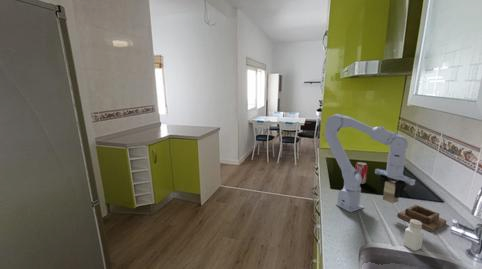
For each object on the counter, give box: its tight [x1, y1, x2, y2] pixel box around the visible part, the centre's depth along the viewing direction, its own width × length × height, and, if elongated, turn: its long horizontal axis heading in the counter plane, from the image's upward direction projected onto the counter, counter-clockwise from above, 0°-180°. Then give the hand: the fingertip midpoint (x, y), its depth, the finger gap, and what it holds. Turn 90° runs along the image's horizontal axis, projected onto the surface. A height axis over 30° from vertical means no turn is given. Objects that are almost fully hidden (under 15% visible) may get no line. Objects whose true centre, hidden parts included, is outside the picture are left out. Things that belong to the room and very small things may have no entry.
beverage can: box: [354, 161, 369, 185], centre depth 128 cm, size 6×6×12 cm
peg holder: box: [396, 204, 448, 233], centre depth 90 cm, size 12×12×4 cm
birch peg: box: [382, 179, 400, 204], centre depth 92 cm, size 4×4×8 cm
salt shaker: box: [402, 219, 424, 252], centre depth 74 cm, size 4×4×10 cm
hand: (391, 194), depth 92 cm, fingers closed on birch peg, 4 cm apart
